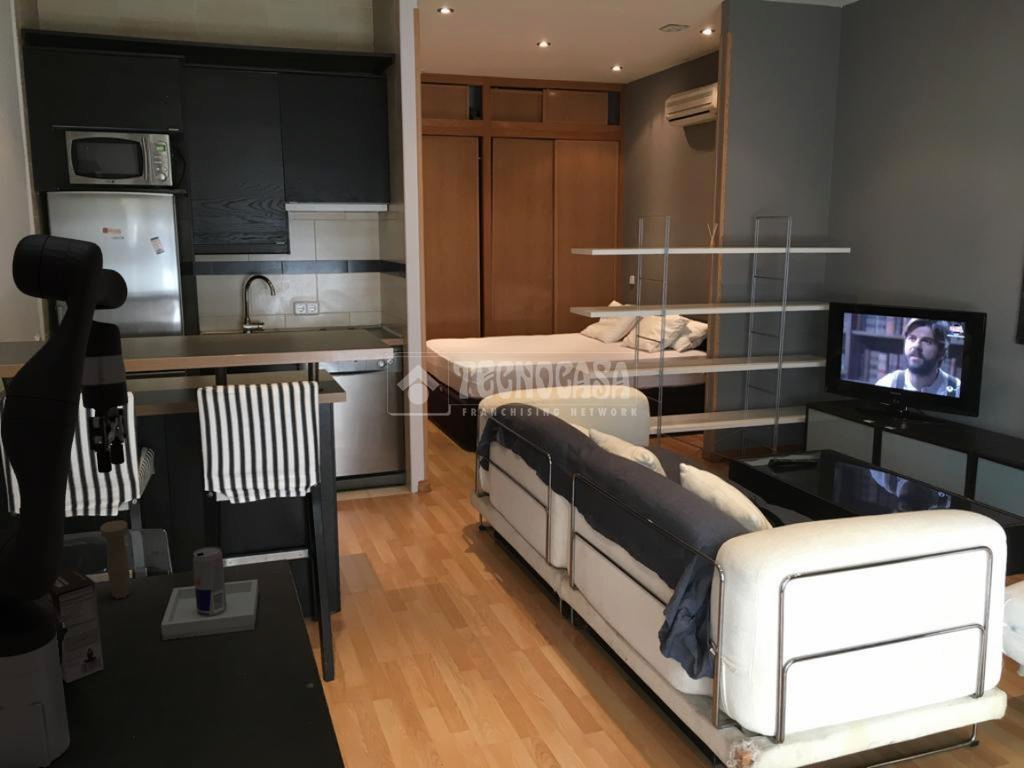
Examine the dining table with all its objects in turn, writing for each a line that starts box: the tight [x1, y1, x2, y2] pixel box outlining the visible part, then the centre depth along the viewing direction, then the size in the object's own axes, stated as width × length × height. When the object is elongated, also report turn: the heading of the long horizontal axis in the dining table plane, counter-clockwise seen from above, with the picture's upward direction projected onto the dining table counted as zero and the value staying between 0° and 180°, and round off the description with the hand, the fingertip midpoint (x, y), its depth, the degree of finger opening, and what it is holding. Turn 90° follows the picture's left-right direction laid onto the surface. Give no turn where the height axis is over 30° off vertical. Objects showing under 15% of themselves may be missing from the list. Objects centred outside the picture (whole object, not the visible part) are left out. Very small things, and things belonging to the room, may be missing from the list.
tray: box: [160, 578, 259, 641], centre depth 161 cm, size 16×16×3 cm
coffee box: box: [47, 566, 105, 684], centre depth 142 cm, size 9×6×16 cm
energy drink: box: [192, 546, 226, 616], centre depth 160 cm, size 5×5×12 cm
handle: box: [99, 520, 131, 600], centre depth 169 cm, size 5×6×15 cm
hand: (112, 468), depth 155 cm, fingers open, 8 cm apart
